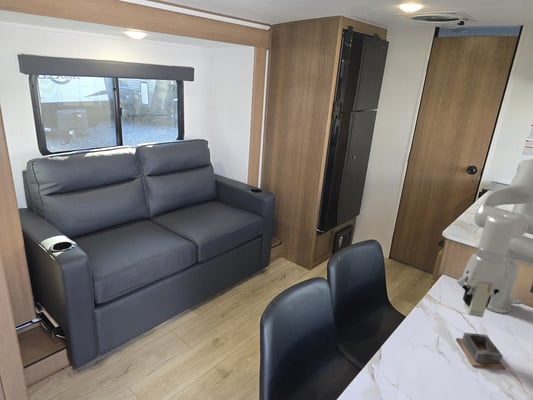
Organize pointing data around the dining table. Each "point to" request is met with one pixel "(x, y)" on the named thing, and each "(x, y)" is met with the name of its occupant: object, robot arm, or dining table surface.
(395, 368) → the dining table surface
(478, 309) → the skincare box
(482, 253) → the robot arm
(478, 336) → the sleeve stand
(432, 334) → the dining table surface
